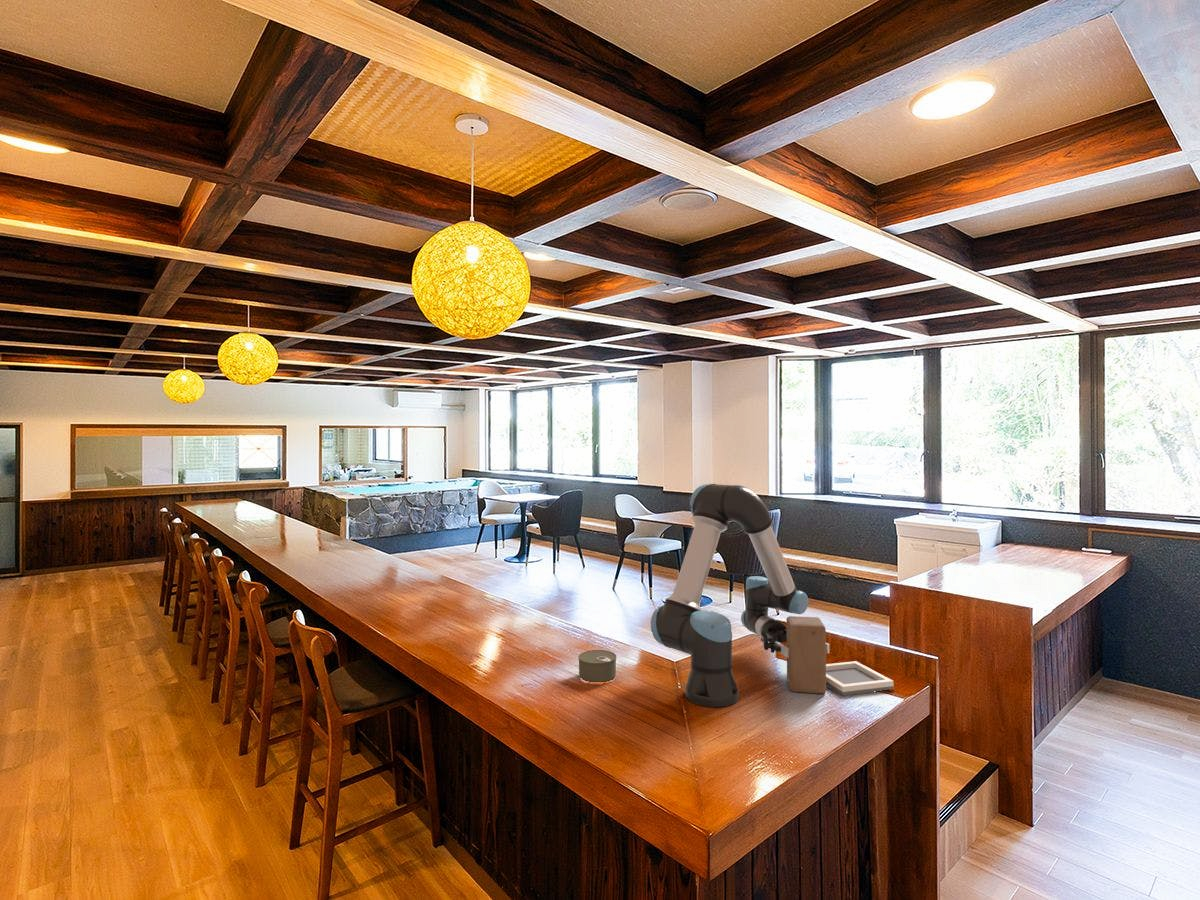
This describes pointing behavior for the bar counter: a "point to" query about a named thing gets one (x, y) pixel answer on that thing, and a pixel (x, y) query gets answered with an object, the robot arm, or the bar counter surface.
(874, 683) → the locating plate
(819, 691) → the wooden block
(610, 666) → the can
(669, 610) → the robot arm
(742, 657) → the bar counter surface
